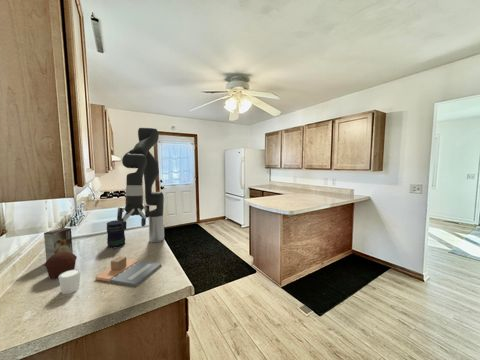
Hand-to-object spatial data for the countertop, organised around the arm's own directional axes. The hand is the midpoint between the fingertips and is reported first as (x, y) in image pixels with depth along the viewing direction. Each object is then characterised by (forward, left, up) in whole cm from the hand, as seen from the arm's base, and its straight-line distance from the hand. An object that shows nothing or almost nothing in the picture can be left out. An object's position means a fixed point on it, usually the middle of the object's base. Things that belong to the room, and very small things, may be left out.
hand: (134, 227), depth 97 cm
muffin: (+12, -30, -21) cm, 38 cm away
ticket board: (+3, +4, -21) cm, 22 cm away
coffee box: (+1, -47, -21) cm, 51 cm away
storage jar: (-22, -33, -21) cm, 44 cm away
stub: (+3, -6, -21) cm, 22 cm away
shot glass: (+20, -14, -21) cm, 32 cm away
